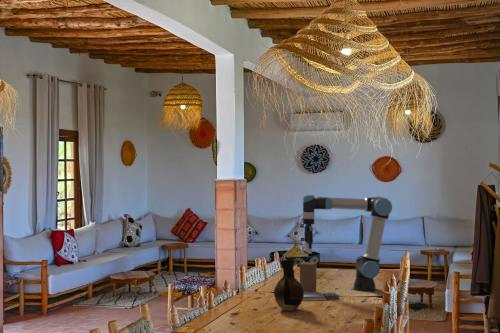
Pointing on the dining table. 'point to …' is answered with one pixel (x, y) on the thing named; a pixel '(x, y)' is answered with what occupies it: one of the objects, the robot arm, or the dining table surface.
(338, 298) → the button housing
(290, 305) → the ceramic vessel
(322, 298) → the shallow gray tray
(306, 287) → the wooden block
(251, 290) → the dining table surface
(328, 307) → the dining table surface
